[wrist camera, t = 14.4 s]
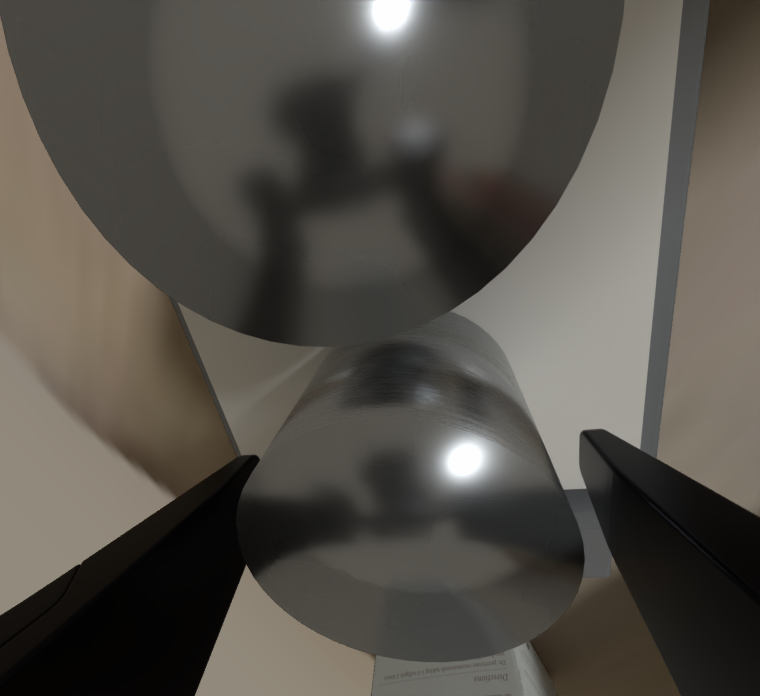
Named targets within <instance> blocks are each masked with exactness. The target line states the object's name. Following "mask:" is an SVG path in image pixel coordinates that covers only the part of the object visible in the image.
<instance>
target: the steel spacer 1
mask: <svg viewBox="0 0 760 696" xmlns="http://www.w3.org/2000/svg"><path fill="white" fill-rule="evenodd" d="M624 1H625V0H0V16H1V21H2V25H3V30H4V34H5V39H6V43H7V48H8V52H9V55H10V58H11V61H12V65H13V68H14V71H15V74H16V77H17V80H18V84H19V87H20V90H21V93H22V96H23V99H24V101H25V103H26V106H27V108H28V110H29V113H30V115H31V118H32V120H33V122H34V125H35V127H36V130H37V132H38V134H39V137H40V139H41V141H42V143H43V144H44V146H45V148H46V150H47V152H48V154H49V156H50V158H51V160H52V162H53V163H54V165H55V167H56V169H57V171H58V173H59V175H60V176H61V178H62V179H63V181H64V182H65V184H66V186H67V187H68V189H69V190H70V192H71V193H72V195H73V196H74V198H75V199H76V201H77V202H78V204H79V206H80V207H81V209H82V210H83V211H84V212H85V214H86V215H87V216H88V217H89V219H90V220H91V221H92V223H93V224H94V225H95V226H96V228H97V229H98V230H99V231H100V233H101V234H102V235H103V236H104V238H105V239H106V240H107V241H108V242H109V243H110V244H111V245H112V246H113V247H114V248H115V249H116V250H117V251H118V252H119V254H120V255H121V256H122V257H123V258H124V259H125V260H126V261H127V262H128V263H129V264H130V265H131V266H132V267H133V268H135V269H136V270H137V271H138V272H139V273H141V274H142V275H143V276H144V277H145V278H146V279H148V280H149V281H150V282H151V283H152V284H153V285H155V286H156V287H157V288H158V289H160V290H161V291H163V292H164V293H166V294H167V295H168V296H170V297H171V298H173V299H174V300H176V301H177V302H179V303H180V304H182V305H183V306H184V307H186V308H188V309H190V310H192V311H194V312H195V313H197V314H199V315H201V316H203V317H205V318H207V319H208V320H210V321H212V322H214V323H217V324H219V325H222V326H224V327H227V328H229V329H232V330H234V331H236V332H239V333H241V334H245V335H249V336H252V337H256V338H259V339H263V340H267V341H270V342H276V343H283V344H289V345H296V346H312V347H336V346H347V345H357V344H363V343H368V342H372V341H377V340H381V339H386V338H390V337H393V336H396V335H398V334H401V333H404V332H407V331H410V330H412V329H415V328H418V327H420V326H422V325H424V324H426V323H428V322H430V321H432V320H434V319H436V318H438V317H440V316H442V315H444V314H446V313H448V312H450V311H451V310H453V309H454V308H456V307H457V306H459V305H460V304H462V303H463V302H465V301H466V300H467V299H469V298H470V297H472V296H473V295H475V294H476V293H478V292H479V291H480V290H481V289H483V288H484V287H485V286H486V285H487V284H488V283H489V282H491V281H492V280H493V279H494V278H495V277H496V276H497V275H499V274H500V273H501V272H502V271H503V270H504V269H505V268H507V266H508V265H509V264H510V263H511V262H512V261H513V260H514V259H515V258H516V256H517V255H518V254H519V253H520V252H521V251H522V250H523V249H524V248H525V247H526V245H527V244H528V243H529V242H530V241H531V240H532V239H533V237H534V236H535V235H536V233H537V232H538V230H539V229H540V228H541V226H542V225H543V224H544V222H545V221H546V219H547V218H548V217H549V215H550V214H551V212H552V211H553V210H554V208H555V207H556V205H557V204H558V202H559V200H560V198H561V197H562V195H563V193H564V191H565V189H566V188H567V186H568V184H569V182H570V181H571V179H572V177H573V175H574V173H575V172H576V170H577V168H578V166H579V164H580V162H581V160H582V157H583V155H584V152H585V150H586V148H587V145H588V143H589V141H590V138H591V136H592V134H593V131H594V129H595V127H596V124H597V122H598V119H599V116H600V112H601V109H602V106H603V102H604V99H605V96H606V93H607V89H608V86H609V83H610V79H611V76H612V73H613V68H614V63H615V58H616V52H617V47H618V42H619V37H620V31H621V26H622V21H623V14H624Z"/></svg>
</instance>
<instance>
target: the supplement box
mask: <svg viewBox="0 0 760 696" xmlns="http://www.w3.org/2000/svg"><path fill="white" fill-rule="evenodd" d="M371 696H557V692H556V689H555V686H554V683H553V681H552V680H551V678H550V676H549V674H548V673H547V671H546V669H545V667H544V665H543V664H542V662H541V660H540V658H539V656H538V655H537V653H536V651H535V650H534V648H533V646H532V644H531V643H530V641H528V642H526V643H524V644H522V645H520V646H518V647H516V648H513V649H510V650H507V651H505V652H502V653H499V654H495V655H491V656H487V657H484V658H478V659H472V660H466V661H455V662H417V661H405V660H399V659H393V658H387V657H382V656H378V655H376V656H375V665H374V674H373V683H372V692H371Z"/></svg>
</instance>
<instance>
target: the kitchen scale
mask: <svg viewBox="0 0 760 696" xmlns="http://www.w3.org/2000/svg"><path fill="white" fill-rule="evenodd" d="M709 6H710V0H625V1H624V14H623V21H622V26H621V31H620V37H619V42H618V47H617V52H616V58H615V63H614V68H613V73H612V76H611V79H610V83H609V86H608V89H607V93H606V96H605V99H604V102H603V106H602V109H601V112H600V116H599V119H598V122H597V124H596V127H595V129H594V131H593V134H592V136H591V138H590V141H589V143H588V145H587V148H586V150H585V152H584V155H583V157H582V160H581V162H580V164H579V166H578V168H577V170H576V172H575V173H574V175H573V177H572V179H571V181H570V182H569V184H568V186H567V188H566V189H565V191H564V193H563V195H562V197H561V198H560V200H559V202H558V204H557V205H556V207H555V208H554V210H553V211H552V212H551V214H550V215H549V217H548V218H547V219H546V221H545V222H544V224H543V225H542V226H541V228H540V229H539V230H538V232H537V233H536V235H535V236H534V237H533V239H532V240H531V241H530V242H529V243H528V244H527V245H526V247H525V248H524V249H523V250H522V251H521V252H520V253H519V254H518V255H517V256H516V258H515V259H514V260H513V261H512V262H511V263H510V264H509V265H508V266H507V268H505V269H504V270H503V271H502V272H501V273H500V274H499V275H497V276H496V277H495V278H494V279H493V280H492V281H491V282H489V283H488V284H487V285H486V286H485V287H484V288H483V289H481V290H480V291H479V292H478V293H476V294H475V295H473V296H472V297H470V298H469V299H467V300H466V301H465V302H463V303H462V304H460V305H459V306H457V307H456V308H454V309H453V310H451V312H454V313H456V314H458V315H461V316H463V317H465V318H467V319H469V320H470V321H472V322H474V323H475V324H477V325H478V326H480V327H481V328H482V329H483V330H485V331H486V332H487V333H488V334H489V335H490V336H491V337H492V338H493V339H494V340H495V341H496V342H497V343H498V345H499V346H500V348H501V349H502V350H503V352H504V353H505V355H506V357H507V359H508V361H509V363H510V365H511V368H512V370H513V372H514V375H515V377H516V380H517V382H518V384H519V387H520V389H521V391H522V394H523V396H524V398H525V401H526V403H527V405H528V408H529V410H530V412H531V415H532V417H533V419H534V422H535V424H536V426H537V429H538V431H539V434H540V436H541V438H542V441H543V443H544V445H545V448H546V450H547V452H548V455H549V457H550V459H551V462H552V464H553V466H554V469H555V471H556V473H557V476H558V478H559V480H560V483H561V485H562V487H563V490H564V492H565V495H566V497H567V499H568V502H569V504H570V506H571V509H572V511H573V513H574V516H575V518H576V520H577V523H578V526H579V529H580V532H581V536H582V539H583V544H584V555H585V563H584V572H583V577H610V573H611V558H612V554H611V552H610V550H609V548H608V545H607V543H606V540H605V537H604V535H603V532H602V529H601V527H600V524H599V521H598V519H597V516H596V513H595V510H594V508H593V505H592V502H591V499H590V497H589V494H588V491H587V488H586V486H585V483H584V480H583V477H582V475H581V471H580V467H579V436H580V433H581V431H583V430H588V429H604V430H607V431H608V432H610V433H612V434H614V435H615V436H617V437H619V438H621V439H623V440H624V441H626V442H628V443H630V444H631V445H633V446H635V447H637V448H638V449H640V450H642V451H644V452H645V453H647V454H649V455H651V456H653V457H654V458H656V457H657V448H658V440H659V431H660V423H661V414H662V406H663V397H664V389H665V380H666V372H667V363H668V355H669V346H670V338H671V329H672V321H673V312H674V304H675V295H676V287H677V278H678V270H679V261H680V253H681V244H682V236H683V227H684V219H685V210H686V202H687V193H688V185H689V176H690V168H691V159H692V151H693V142H694V134H695V125H696V117H697V108H698V100H699V91H700V83H701V74H702V66H703V57H704V49H705V40H706V32H707V23H708V15H709ZM169 297H170V296H169ZM170 299H171V301H172V304H173V306H174V309H175V311H176V313H177V316H178V318H179V320H180V323H181V325H182V327H183V330H184V332H185V334H186V337H187V339H188V342H189V344H190V346H191V349H192V351H193V353H194V356H195V358H196V360H197V363H198V365H199V367H200V370H201V372H202V375H203V377H204V379H205V382H206V384H207V386H208V389H209V391H210V393H211V396H212V398H213V400H214V403H215V405H216V408H217V410H218V412H219V415H220V417H221V419H222V422H223V424H224V426H225V429H226V431H227V433H228V436H229V438H230V441H231V443H232V445H233V448H234V450H235V452H236V455H237V457H239V456H241V455H253V454H254V455H257V456H258V457H259V458H260V459H261V458H262V456H263V455H264V453H265V452H266V450H267V448H268V447H269V445H270V444H271V442H272V441H273V439H274V437H275V436H276V434H277V433H278V431H279V430H280V428H281V426H282V425H283V423H284V422H285V420H286V419H287V417H288V415H289V414H290V412H291V411H292V409H293V408H294V406H295V404H296V403H297V401H298V400H299V398H300V397H301V395H302V393H303V392H304V390H305V389H306V387H307V386H308V384H309V382H310V381H311V379H312V378H313V376H314V375H315V373H316V371H317V370H318V368H319V367H320V365H321V364H322V362H323V360H324V359H325V357H326V356H327V354H328V353H329V351H330V349H331V348H332V347H312V346H296V345H289V344H283V343H276V342H270V341H267V340H263V339H259V338H256V337H252V336H249V335H245V334H241V333H239V332H236V331H234V330H232V329H229V328H227V327H224V326H222V325H219V324H217V323H214V322H212V321H210V320H208V319H207V318H205V317H203V316H201V315H199V314H197V313H195V312H194V311H192V310H190V309H188V308H186V307H184V306H183V305H182V304H180V303H179V302H177V301H176V300H174V299H173V298H171V297H170Z"/></svg>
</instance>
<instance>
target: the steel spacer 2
mask: <svg viewBox="0 0 760 696" xmlns="http://www.w3.org/2000/svg"><path fill="white" fill-rule="evenodd" d="M236 529H237V537H238V542H239V546H240V550H241V552H242V555H243V557H244V560H245V562H246V565H247V566H248V568H249V570H250V571H251V573H252V575H253V577H254V578H255V580H256V581H257V582H258V584H259V585H260V586H261V587H262V589H263V590H264V591H265V592H266V593H267V594H268V595H269V596H270V598H271V599H272V600H273V601H274V602H275V603H276V604H277V605H279V606H280V607H281V608H282V609H283V610H284V611H286V612H287V613H288V614H289V615H291V616H292V617H294V618H295V619H296V620H298V621H299V622H300V623H302V624H303V625H305V626H307V627H309V628H310V629H312V630H314V631H315V632H317V633H319V634H321V635H323V636H325V637H327V638H329V639H331V640H333V641H335V642H338V643H340V644H343V645H346V646H348V647H351V648H354V649H357V650H360V651H363V652H366V653H370V654H374V655H378V656H382V657H387V658H393V659H399V660H405V661H417V662H455V661H466V660H472V659H478V658H484V657H487V656H491V655H495V654H499V653H502V652H505V651H507V650H510V649H513V648H516V647H518V646H520V645H522V644H524V643H526V642H528V641H530V640H532V639H534V638H535V637H537V636H538V635H540V634H541V633H543V632H544V631H546V630H547V629H548V628H549V627H550V626H552V625H553V624H554V623H555V622H556V621H557V620H558V619H559V618H560V617H561V616H562V615H563V614H564V612H565V611H566V610H567V609H568V608H569V606H570V605H571V603H572V601H573V599H574V598H575V596H576V594H577V592H578V590H579V587H580V584H581V581H582V577H583V572H584V563H585V555H584V544H583V539H582V536H581V532H580V529H579V526H578V523H577V520H576V518H575V516H574V513H573V511H572V509H571V506H570V504H569V502H568V499H567V497H566V495H565V492H564V490H563V487H562V485H561V483H560V480H559V478H558V476H557V473H556V471H555V469H554V466H553V464H552V462H551V459H550V457H549V455H548V452H547V450H546V448H545V445H544V443H543V441H542V438H541V436H540V434H539V431H538V429H537V426H536V424H535V422H534V419H533V417H532V415H531V412H530V410H529V408H528V405H527V403H526V401H525V398H524V396H523V394H522V391H521V389H520V387H519V384H518V382H517V380H516V377H515V375H514V372H513V370H512V368H511V365H510V363H509V361H508V359H507V357H506V355H505V353H504V352H503V350H502V349H501V348H500V346H499V345H498V343H497V342H496V341H495V340H494V339H493V338H492V337H491V336H490V335H489V334H488V333H487V332H486V331H485V330H483V329H482V328H481V327H480V326H478V325H477V324H475V323H474V322H472V321H470V320H469V319H467V318H465V317H463V316H461V315H458V314H456V313H454V312H451V311H450V312H448V313H446V314H444V315H442V316H440V317H438V318H436V319H434V320H432V321H430V322H428V323H426V324H424V325H422V326H420V327H418V328H415V329H412V330H410V331H407V332H404V333H401V334H398V335H396V336H393V337H390V338H386V339H381V340H377V341H372V342H368V343H363V344H357V345H347V346H336V347H332V348H331V349H330V351H329V353H328V354H327V356H326V357H325V359H324V360H323V362H322V364H321V365H320V367H319V368H318V370H317V371H316V373H315V375H314V376H313V378H312V379H311V381H310V382H309V384H308V386H307V387H306V389H305V390H304V392H303V393H302V395H301V397H300V398H299V400H298V401H297V403H296V404H295V406H294V408H293V409H292V411H291V412H290V414H289V415H288V417H287V419H286V420H285V422H284V423H283V425H282V426H281V428H280V430H279V431H278V433H277V434H276V436H275V437H274V439H273V441H272V442H271V444H270V445H269V447H268V448H267V450H266V452H265V453H264V455H263V456H262V458H261V459H260V461H259V463H258V464H257V466H256V467H255V469H254V470H253V472H252V474H251V475H250V477H249V479H248V481H247V482H246V484H245V486H244V488H243V490H242V493H241V496H240V499H239V502H238V507H237V515H236Z"/></svg>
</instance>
